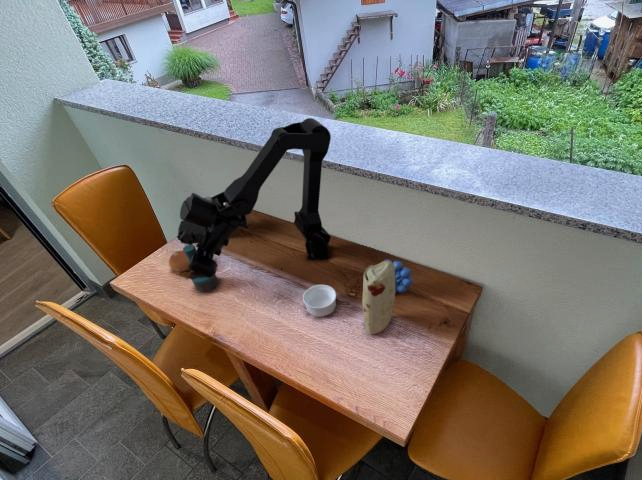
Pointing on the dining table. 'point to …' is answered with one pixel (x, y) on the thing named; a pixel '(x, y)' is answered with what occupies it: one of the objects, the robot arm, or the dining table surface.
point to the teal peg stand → (204, 282)
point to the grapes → (401, 277)
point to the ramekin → (320, 300)
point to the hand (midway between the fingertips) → (193, 267)
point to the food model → (378, 296)
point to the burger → (179, 264)
